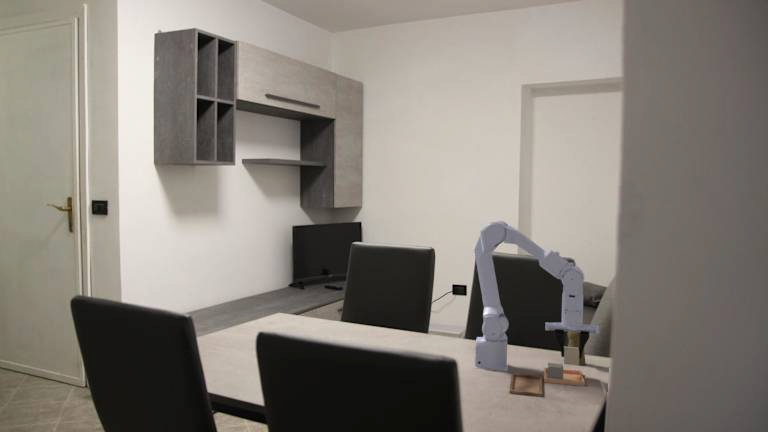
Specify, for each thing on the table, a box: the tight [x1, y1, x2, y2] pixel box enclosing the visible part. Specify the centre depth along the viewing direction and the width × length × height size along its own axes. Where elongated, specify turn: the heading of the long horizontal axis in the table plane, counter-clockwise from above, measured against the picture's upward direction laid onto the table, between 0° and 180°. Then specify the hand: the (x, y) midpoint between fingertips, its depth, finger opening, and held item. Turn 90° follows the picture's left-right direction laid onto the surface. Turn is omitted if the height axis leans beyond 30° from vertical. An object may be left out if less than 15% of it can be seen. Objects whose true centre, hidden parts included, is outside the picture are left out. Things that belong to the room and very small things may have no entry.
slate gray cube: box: [547, 362, 564, 379], centre depth 156 cm, size 4×4×4 cm
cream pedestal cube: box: [562, 345, 579, 366], centre depth 159 cm, size 4×4×4 cm
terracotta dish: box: [542, 366, 585, 387], centre depth 158 cm, size 11×11×2 cm
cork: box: [567, 331, 587, 367], centre depth 173 cm, size 6×6×11 cm
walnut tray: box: [509, 372, 543, 398], centre depth 151 cm, size 8×15×1 cm, turn 165°
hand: (571, 356), depth 159 cm, fingers closed on cream pedestal cube, 4 cm apart
